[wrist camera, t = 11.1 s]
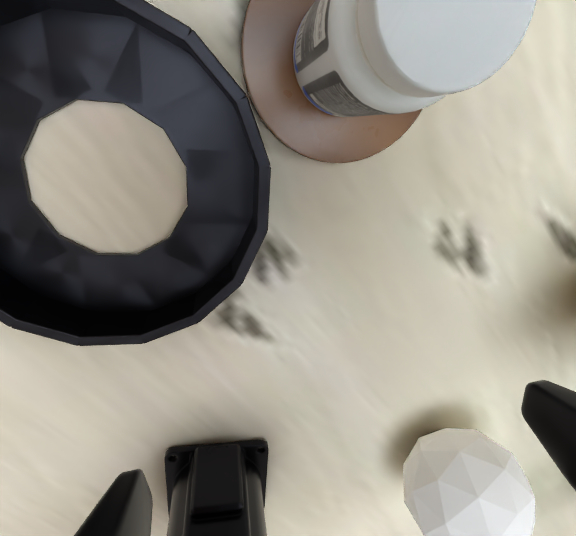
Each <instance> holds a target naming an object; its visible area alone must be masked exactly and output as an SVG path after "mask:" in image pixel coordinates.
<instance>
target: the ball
mask: <svg viewBox="0 0 576 536" xmlns="http://www.w3.org/2000/svg"><path fill="white" fill-rule="evenodd" d="M403 477H404V502H405V504H406V506H407V507H408V509H409V511H410V512H411V514H412V516H413V518H414V519H415V521H416V523H417V524H418V526H419V528H420V529H421V531H422V533H423V535H424V536H532V533H533V529H534V524H535V496H534V493H533V491H532V488H531V486H530V483H529V481H528V479H527V477H526V476H525V474H524V472H523V470H522V469H521V467H520V465H519V464H518V462H517V460H516V458H515V457H514V455H513V453H512V452H510V451H508V450H507V449H505V448H504V447H502V446H501V445H499V444H498V443H496V442H495V441H493V440H491V439H490V438H488V437H487V436H485V435H484V434H482V433H481V432H479V431H478V430H475V429H455V428H445V429H442V430H439V431H436V432H433V433H431V434H428V435H425V436H422V437H419V439H418V440H417V442H416V444H415V446H414V447H413V449H412V451H411V452H410V454H409V456H408V457H407V459H406V461H405V463H404V464H403Z"/></svg>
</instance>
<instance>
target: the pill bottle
mask: <svg viewBox="0 0 576 536" xmlns="http://www.w3.org/2000/svg"><path fill="white" fill-rule="evenodd" d="M535 4H536V0H316V1H315V2H314V4H313V5H312V6H311V7H310V9H309V10H308V12H307V13H306V15H305V16H304V18H303V20H302V21H301V24H300V26H299V28H298V30H297V34H296V37H295V41H294V47H293V64H294V70H295V75H296V78H297V81H298V84H299V86H300V88H301V90H302V92H303V94H304V95H305V97H306V98H307V99H308V100H309V101H310V102H311V103H312V104H313V105H314V106H315V107H316V108H318V109H319V110H321V111H323V112H325V113H327V114H330V115H333V116H339V117H355V116H370V115H384V114H389V115H391V114H402V113H408V112H413V111H417V110H420V109H423V108H425V107H428V106H430V105H432V104H434V103H436V102H437V101H439V100H440V99H442V98H443V97H444V96H446V95H447V94H452V93H457V92H460V91H464V90H467V89H469V88H472V87H474V86H476V85H478V84H480V83H481V82H483V81H485V80H486V79H488V78H489V77H490V76H492V75H493V74H494V73H495V72H497V71H498V70H499V69H500V68H501V67H502V66H503V65H504V64H505V63H506V61H507V60H508V59H509V58H510V57H511V55H512V54H513V52H514V51H515V50H516V48H517V47H518V45H519V44H520V42H521V40H522V39H523V37H524V35H525V33H526V30H527V28H528V26H529V23H530V21H531V18H532V16H533V12H534V8H535Z"/></svg>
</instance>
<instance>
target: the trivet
mask: <svg viewBox="0 0 576 536" xmlns="http://www.w3.org/2000/svg"><path fill="white" fill-rule="evenodd" d="M315 1H316V0H250V1H249V4H248V7H247V10H246V15H245V20H244V25H243V30H242V42H241V54H242V67H243V73H244V79H245V82H246V86H247V90H248V93H249V95H250V98H251V100H252V103H253V105H254V107H255V109H256V111H257V113H258V114H259V116H260V118H261V119H262V121H263V122H264V124H265V125H266V126H267V128H268V129H269V130H270V131H271V132H272V133H273V134H274V135H275V136H276V138H277V139H279V140H280V141H281V142H282V143H284V144H285V145H286V146H287V147H289V148H291V149H292V150H294V151H295V152H297V153H299V154H301V155H304V156H306V157H308V158H311V159H315V160H318V161H322V162H330V163H346V162H353V161H358V160H361V159H365V158H368V157H370V156H372V155H375V154H377V153H379V152H381V151H382V150H384V149H385V148H387V147H389V146H390V145H391V144H393V143H394V142H395V141H396V140H398V139H399V138H400V137H401V136H402V135H403V134H404V133H405V132H406V131H407V130H408V129H409V127H410V126H411V125H412V124H413V122H414V121H415V120H416V119H417V117H418V115H419V114H420V112H421V111H422V109H420V110H417V111H413V112H408V113H402V114H391V115H389V114H384V115H370V116H355V117H339V116H333V115H330V114H327V113H325V112H323V111H321V110H319V109H318V108H316V107H315V106H314V105H313V104H312V103H311V102H310V101H309V100H308V99H307V98H306V97H305V95H304V94H303V92H302V90H301V88H300V86H299V84H298V81H297V78H296V75H295V70H294V64H293V47H294V41H295V37H296V34H297V30H298V28H299V26H300V24H301V21H302V20H303V18H304V16H305V15H306V13H307V12H308V10H309V9H310V7H311V6H312V5H313V4H314V2H315Z"/></svg>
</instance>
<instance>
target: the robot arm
mask: <svg viewBox="0 0 576 536" xmlns="http://www.w3.org/2000/svg"><path fill="white" fill-rule="evenodd" d="M521 410H522V415H523V417H524V419H525V421H526V422H527V423H528V425H529V426H530V428H531V429H532V431H533V432H534V434H535V435H536V436H537V438H538V439H539V441H540V442H541V444H542V445H543V446H544V448H545V449H546V451H547V452H548V454H549V455H550V456H551V458H552V459H553V461H554V462H555V464H556V465H557V467H558V468H559V469H560V471H561V472H562V474H563V475H564V476H565V478H566V479H567V480H568V482H569V483H570V484H571V486H572V487H573V488H574V489H575V491H576V392H574V391H572V390H569V389H567V388H564V387H562V386H559V385H557V384H554V383H552V382H549V381H546V380H540V381H536V382H531V383H529V384H527V386H526V388H525V392H524V397H523V402H522V407H521ZM267 463H268V444H267V442H266V441H265V440H251V441H240V442H228V443H217V444H205V445H194V446H182V447H172V448H169V449H168V450H167V451H166V454H165V472H166V485H167V499H168V512H169V523H168V531H167V536H267V533H266V524H265V514H264V507H265V492H266V477H267ZM151 520H152V495H151V492H150V489H149V486H148V484H147V481H146V478H145V476H144V473H143V471H142V470H140V469H136V470H131V471H127V472H123V473H121V474H120V475H119V476H118V477H117V478H116V479H115V481H114V482H113V483H112V485H111V486H110V488H109V489H108V490H107V492H106V493H105V494H104V496H103V497H102V498H101V500H100V501H99V502H98V504H97V505H96V506H95V508H94V509H93V511H92V512H91V513H90V515H89V516H88V517H87V519H86V520H85V521H84V523H83V524H82V525H81V527H80V528H79V530H78V531H77V532H76V534H75V535H74V536H150V534H151Z"/></svg>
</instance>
